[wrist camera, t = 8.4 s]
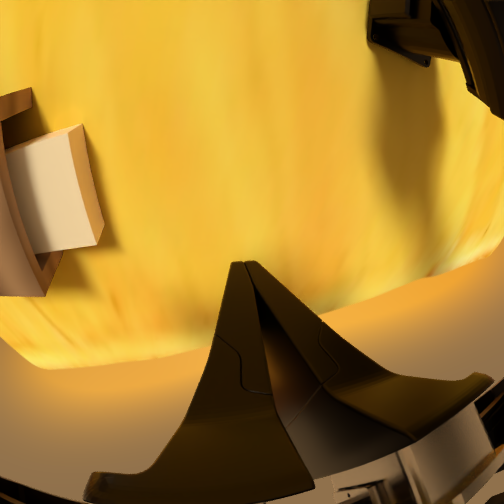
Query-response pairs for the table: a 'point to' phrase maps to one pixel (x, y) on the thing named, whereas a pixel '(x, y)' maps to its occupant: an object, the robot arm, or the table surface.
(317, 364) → the robot arm
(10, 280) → the wood grain block
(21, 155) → the beige block
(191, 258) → the table surface
